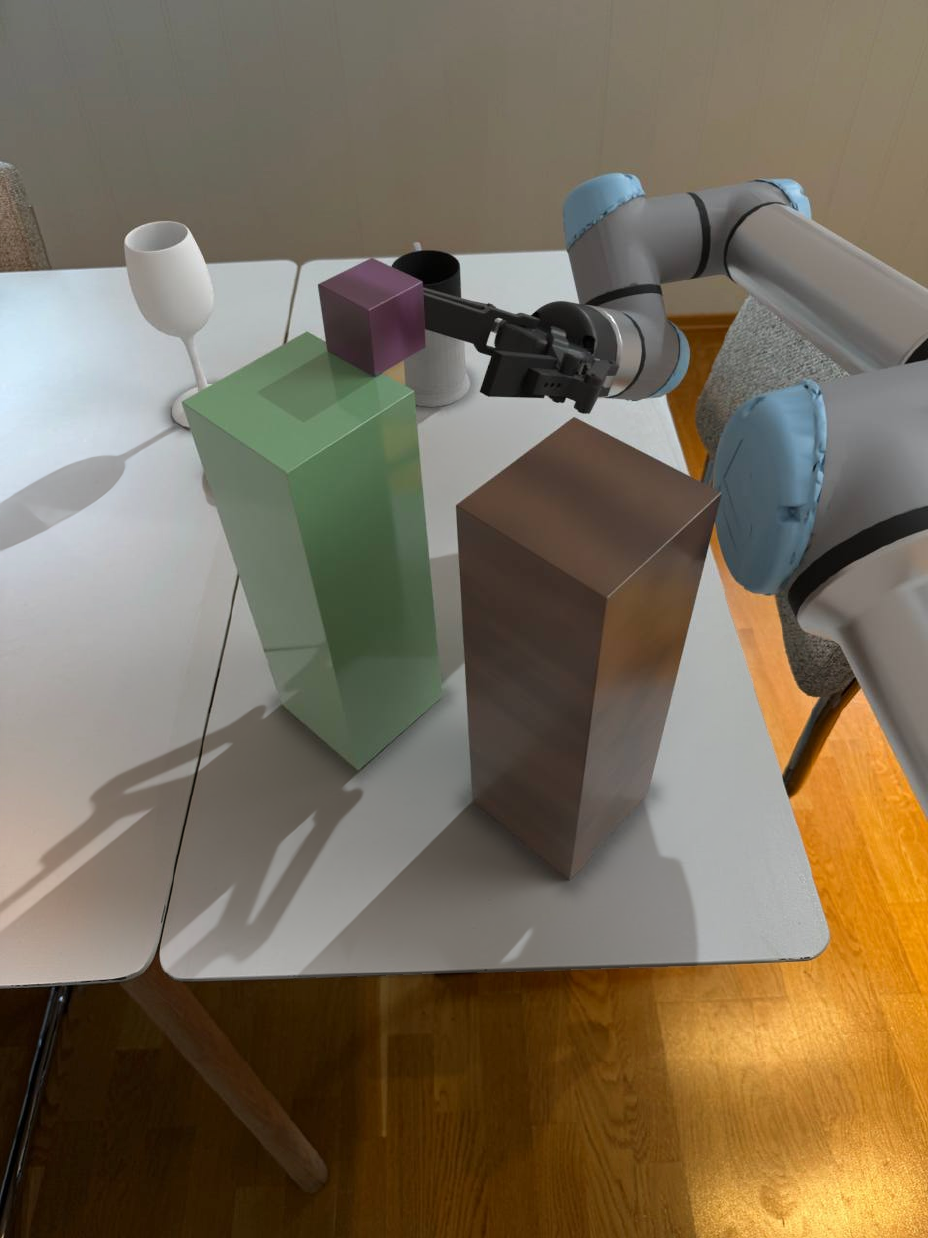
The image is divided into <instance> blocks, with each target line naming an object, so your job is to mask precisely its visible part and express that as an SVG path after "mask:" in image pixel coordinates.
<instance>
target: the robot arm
mask: <svg viewBox="0 0 928 1238" xmlns="http://www.w3.org/2000/svg"><path fill="white" fill-rule="evenodd" d="M561 213H562V224H563V230H564V236H565V238H564V239H565V243H566V246H565V250H566V253H567V254H568V259H569V264H570V268H571V274H572V277H573V282H574V286H575V290H576V294H577V299H578V303H577V302H571V301H566V300H556V301H552V302H548V303H545V304H544V305H542V306H540V307H539V308H538V309H537V310H535V311H534V312H533V313H531V314H528V313H524V312H518V313H514V312H510V311H506V310H504V309H501V308H498V307H496V306H495V305H494V304H493V303H490V302H487V303H485V302H479V301H474V300H470V299H467V298H462V297H461V298H460V297H456V296H452V295H449V294H445V293H442V292H438V291H435V290H431V289H427V288H424V287H423V300H424V320H425V329H426V330H429V331H432V332H436V333H439V334H442V335H446V336H449V337H452V338H455V339H459V340H462V341H465V343H469V344H472V345H473V347H474V349H475V350H476V351H477V352H478V353H479V354H482V355H486V356H488V357H490V359H489V362H488V365H487V368H486V370H485V374H484V376H483V380H482V383H481V385H480V388H479V393H480V394H482V395H484V396H486V397H488V398H518V399H519V398H520V399H521V398H522V399H545V397H547V398H548V399H550V400H551V401H552V402H554V403H556V404H559V403H560V404H565V402H566V399H569V400H571V401H574V404H573V409H575V410H576V411H577V412H578V413H579V414H582V415H589V414H591V412H592V411H593V408H594V407H595V404H596V403H597V401H598V399H611V400H625V401H631V402H638V401H641V400H647V399H656V398H662V397H663V396H665V395H667V394H669V393H671V392H672V391H674V390H675V389H676V388H677V387H678V386H679V385H680V384H681V382H682V381H683V380H684V378H685V376H686V374H687V372H688V368H689V366H690V357H691V349H690V345H689V341H688V339H687V336H686V334H685V333H684V332H683V331H682V330H681V329H680V327H679V326H678V325H676V324H675V323H673V322H672V321H670V320H669V319H668V317H667V311H666V306H665V301H664V296H663V289H662V286H661V285H665V284H669V283H677V282H682V281H690V280H695V279H701V278H708V277H714V276H719V275H720V276H726V277H727V279H729V280H731V282H733V283H734V284H736V285H737V286H739V287H740V288H741V289H742V290H743V291H745V292H746V293H748V294H749V295H750V296H751V297H752V298H753V299H755V300H756V301H757V302H758V303H760V304H761V305H762V306H764V307H765V308H766V309H768V311H770V312H771V313H772V314H773V315H774V316H776V318H778V319H780V320H781V321H782V322H784V323H785V324H786V325H787V326H788V327H790V328H791V329H792V330H793V331H795V332H796V333H797V334H798V335H800V337H802V338H803V339H805V340H806V341H807V342H808V343H810V344H811V345H812V346H813V347H815V348H816V349H817V350H818V351H819V352H821V353H822V354H823V355H824V356H826V357H827V358H828V359H830V360H831V361H832V362H833V363H835V364H836V365H837V366H838V367H839V368H840V369H842V371H844V372H845V373H847V374H848V375H847V376H842V377H837V378H832V379H826V380H823V381H818V382H816V381H813V380H811V379H802V380H799V381H797V382H796V383H794V384H793V385H790V386H787V387H783V388H779V389H776V390H775V389H774V390H771V391H767V392H764V393H760V394H756V395H754V396H752V397H751V398H748V399H747V400H746V401H744V402H743V403H741V405H740V406H738V407H737V408H736V409H735V411H734V412H733V413H732V415H731V416H730V418H729V419H728V420H727V422H726V424H725V426H724V428H723V431H722V433H721V435H720V438H719V441H718V445H717V449H716V453H715V459H714V464H713V475H712V488H714V489H716V490H718V491H720V492H721V493H722V495H721V499H720V503H719V507H718V511H717V515H716V519H715V523H714V527H715V532H716V537H717V542H718V545H719V548H720V553H721V555H722V559H723V561H724V564H725V565H726V567H727V570H728V572H729V573H730V575H731V577H732V578H733V580H734V581H735V582H736V583H737V584H738V585H739V586H742V587H743V589H744V590H745V591H747V592H750V593H752V594H756V595H764V596H766V597H771V596H774V595H776V594H777V595H778V594H780V592H781V593H783V595H784V596H785V598H786V601H787V603H788V605H789V607H790V609H791V611H792V613H793V614H794V617H795V619H796V622H797V624H798V625H799V627H800V629H801V630H802V631H804V633H807V634H809V635H813V636H816V637H819V638H822V639H825V640H829V641H831V642H834V643H836V644H837V645H839V646H840V648H841V651H842V653H843V655H844V656H845V658H846V661H847V662H848V664H849V667H850V669H851V670H852V673H853V675H854V676H855V679H856V681H857V683H858V685H859V687H860V688H861V691H862V692H863V695H864V697H865V698H866V700H867V703H868V704H869V707H870V708H871V711H872V713H873V715H874V717H875V719H876V721H877V723H878V725H879V728H880V729H881V731H882V734H883V736H884V737H885V739H886V741H887V743H888V745H889V747H890V749H891V751H892V753H893V755H894V757H895V759H896V761H897V763H898V765H899V767H900V769H901V772H902V773H903V775H904V777H905V779H906V781H907V783H908V786H909V788H910V789H911V791H912V793H913V795H914V797H915V799H916V802H917V803H918V805H919V807H920V809H921V811H922V813H923V815H924V818H925V820H926V821H927V822H928V288H927V287H925V286H923V285H921V284H920V283H918V282H916V281H915V280H913V279H912V278H910V277H908V276H906V275H905V274H904V273H902V272H900V271H898V270H897V269H895V268H893V267H891V266H890V265H889V264H886V263H885V262H883V261H881V260H879V259H878V258H876V257H875V256H874V255H872V254H870V253H868V252H867V251H865V250H863V249H861V248H860V247H859V246H857V245H855V244H853V243H851V242H850V241H848V240H847V239H845V238H843V237H842V236H840V235H838V234H836V233H835V232H833V231H831V230H829V229H828V228H827V227H825V226H823V225H821V224H820V223H818V222H817V221H815V220H813V219H812V210H811V204H810V200H809V198H808V196H806V195H805V194H804V188H803V187H802V185H801V184H800V183H799V182H797V181H795V180H793V179H791V178H772V179H771V178H770V179H765V178H757V179H754V180H749V181H747V182H741V183H736V184H731V185H724V186H723V185H722V186H718V187H713V188H706V189H701V190H694V191H690V192H680V193H679V192H678V193H674V194H673V193H672V194H668V195H661V196H654V197H648V198H647V197H646V191H644V190H643V187H642V184H641V181H640V178H638V177H637V176H636V175H634V174H631V173H624V174H623V172H622V173H621V172H613V173H612V172H611V173H606V174H602V175H598V176H596V177H594V178H591V179H589V180H586V181H584V182H582V183H581V184H579V185H577V186H576V187H575V188H574V189H572V190H571V191H570V192H569V194H568V195H567V196H566V198H565V200H564V202H563V203H562V209H561ZM491 333H494V334H495V335H494V341H493V345H494V346H491V345H488V341H489V339H490V335H491Z"/></svg>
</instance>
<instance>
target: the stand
mask: <svg viewBox="0 0 928 1238" xmlns="http://www.w3.org/2000/svg"><path fill="white" fill-rule="evenodd" d="M721 495H722V493H721V492H720V491H718V490H716V489H714V488H713V486H710V485H708V484H706V483H704V482H702V481H700V480H699V479H696V478H695V477H692V476H691V475H689V474H686V473H684V472H683V471H681V470H678V469H676V468H675V467H673V466H671V465H669V464H667V463H665V462H663V461H661V460H659V459H657V458H655V457H654V456H651V455H649V454H647V453H645V452H643V451H642V450H640V449H638V448H636V447H633V446H632V445H630V444H628V443H626V442H624V441H622V440H620V439H618V438H616V437H615V436H612V435H610V434H609V433H607V432H604V431H603V430H600V429H599V428H596V427H595V426H593V425H591V424H589V423H587V422H585V421H584V420H581V419H579V418H577V417H576V416H573V417H571V418H570V419H569V420H568V421H567V422H565V423H564V424H562V425H561V426H560V427H558V428H557V429H556V430H554V431H553V432H551V433H550V434H549V435H548V436H546V437H545V438H544V439H542V440H541V441H540V442H538V443H537V444H535V445H534V446H533V447H531V448H530V449H528V450H527V451H526V452H525V453H524V454H522V455H521V456H520V457H518V458H517V459H515V460H514V461H513V462H511V463H510V464H509V465H507V466H506V467H505V468H504V469H502V470H501V471H499V472H498V473H497V474H495V475H494V476H493V477H491V478H490V479H489V480H488V481H486V482H485V483H483V484H482V485H481V486H480V487H478V488H477V489H475V490H474V491H473V492H471V493H470V494H469V495H467V496H466V497H465V498H463V499H462V500H461V501H459V502H458V503H457V504H456V505H455V513H456V514H455V516H456V534H457V550H458V551H457V552H458V553H457V554H458V568H459V569H458V570H459V587H460V588H459V589H460V605H461V623H462V625H461V626H462V641H463V642H462V643H463V659H464V660H463V661H464V675H465V676H464V677H465V678H464V679H465V694H466V712H467V729H468V730H467V731H468V745H469V746H468V747H469V749H468V750H469V765H470V767H469V768H470V782H471V784H470V785H471V799H472V802H473V803H474V804H475V805H477V806H478V807H479V808H480V809H482V811H484V812H485V813H487V815H489V816H490V817H491V818H492V819H493V820H495V821H496V822H497V823H498V824H500V825H501V826H502V827H504V828H505V830H507V831H508V832H509V833H511V834H512V835H513V836H515V838H517V839H518V840H519V841H521V843H523V844H524V845H525V846H527V847H528V848H529V849H530V850H532V852H534V853H535V854H536V855H538V856H539V857H540V858H541V859H542V860H544V861H545V863H547V864H548V865H550V866H551V867H552V868H553V869H555V870H556V871H557V872H558V873H560V875H562V876H563V877H564V878H566V879H567V880H568V881H571V880H572V879H573V878H574V877H575V876H576V874H578V872H579V871H580V870H581V869H582V868H583V867H584V865H586V864H587V862H588V861H589V860H590V859H591V858H592V856H594V854H596V852H597V851H598V850H599V849H600V848H601V847H602V846H603V844H605V842H606V841H607V840H608V839H609V838H610V837H611V835H612V834H613V833H614V832H615V831H616V830H617V829H618V828H619V827H620V826H621V824H622V823H623V822H624V821H625V820H626V819H627V817H629V815H631V813H632V812H633V811H634V810H635V808H636V807H637V806H638V805H639V804H640V803H641V802H642V801H643V800H644V798H646V796H647V795H648V794H649V791H650V787H651V783H652V779H653V774H654V771H655V767H656V763H657V759H658V754H659V751H660V746H661V742H662V739H663V734H664V730H665V727H666V722H667V719H668V718H667V717H668V714H669V710H670V705H671V702H672V698H673V694H674V689H675V685H676V682H677V677H678V673H679V669H680V666H681V661H682V656H683V654H684V650H685V649H684V648H685V645H686V641H687V637H688V632H689V628H690V624H691V621H692V617H693V612H694V608H695V604H696V600H697V596H698V591H699V587H700V584H701V579H702V575H703V572H704V567H705V563H706V559H707V555H708V551H709V546H710V544H711V540H712V534H713V531H714V527H715V519H716V515H717V511H718V507H719V503H720V499H721Z"/></svg>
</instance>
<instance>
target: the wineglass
mask: <svg viewBox="0 0 928 1238" xmlns="http://www.w3.org/2000/svg"><path fill="white" fill-rule="evenodd" d="M123 248H124V260H125V266H126V267H125V268H126V274H127V277H128V281H129V286H130V289H131V293H132V295H133V297H134V300H135V303H136V305H137V309H139V312H140V313H141V315H142V317H143V318H144V320H146V321H147V323H148V324H149V325H150V326H151V327H153V328H154V329H155V330H156V331H159V332H160V333H163V334H164V335H167V336H170V337H174V338H175V337H176V338H179V339H180V340H181V341H182V343H183V345H184V347H185V350H186V352H187V354H188V355H187V356H188V357H189V361H190V364H191V366H192V370H193V375H194V379H195V382H196V386H195V387H193V388H190V389H189V390H186V391H185V392H183V393H182V394H181V395H180V396H178V398H177V399H175V401H174V403H173V405H172V408H171V416H172V418H173V419H174V421H175V422H176V423H178V424H179V425H180V426H182V427H185V428H188V429H190V427H189V424H188V421H187V418H186V415H185V412H184V409H183V406H182V403H181V402H182V401H184V400H185V399H187V398H189V397H191V396H192V395H194V394H196V393H198V392H200V391H201V390H203V389H205V388H207V387H209V386H210V385H212V384H213V383H208V382H207V379H206V376H205V374H204V370H203V367H202V365H201V362H200V358H199V355H198V350H197V347H196V342H195V335H196V334H197V333H198V332H200V331H201V330H202V329H203V328H204V327H205V326H206V325H207V323H208V322H209V320H210V318H211V316H212V312H213V310H214V306H215V295H214V288H213V284H212V280H211V275H210V272H209V269H208V266H207V264H206V260H205V259H204V256H203V254H202V252H201V250H200V247H199V245H198V244H197V242H196V239H195V238H194V235H193V234H192V232H191V231H190V229H189V228H188V227H187V226H186V225H185V224H183V223H181V222H177V221H170V220H159V221H152V222H148V223H144V224H142V225H140V226H137V227H135V228H133V229H132V230H131V231H130V232H128V233H127V235H126V236H125V237H124V241H123Z"/></svg>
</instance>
